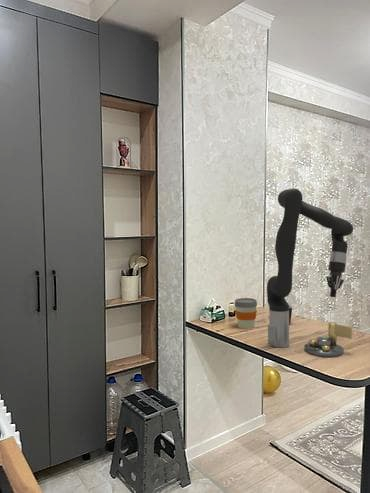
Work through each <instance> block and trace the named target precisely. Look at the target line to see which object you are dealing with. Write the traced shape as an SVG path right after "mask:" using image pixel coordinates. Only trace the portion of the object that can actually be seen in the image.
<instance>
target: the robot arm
mask: <svg viewBox="0 0 370 493" xmlns="http://www.w3.org/2000/svg"><path fill="white" fill-rule="evenodd" d="M277 196H278V197H277V202H278V204H279V206H281V208H283V209H284V211H283V212H284V213H283V218H282V221H281V223H280V225H279V228H278V230H277V233H276V236H275V245H274V251H275V252H274V253H275V256H276V257H275V258H276V260H277V261H276V262H277V275H272V276H271V277H269V279H268V280H267V284H266V297H267V304H268V308H269V315H268V316H269V324H268V325H267V344H268V345H270V346H271V347H273V348H286V347H289V346H290V325H289V306H290V304H289V303H288V301H287V300H286V297H288V296H289V295H290V293H291V291H292V288H293V267H294V258H295V250H296V243H297V231H298V226H299V219H300V215H301V216H304V217H305V218H308V219H309V220H311V221H313V222H314V223H317V224H318V225H320V226H321V227H323V228H325V229H331V230H330V232H331V243H332V244H331V251H330V252H331V253H330V256H329V263H328V269H327V270H328V271H330V272H329V275H328V276H326V277H325V278H326V281H327V282H326V283H327V285H328V288H329V289H330V293H329V296H330V298H336V297H337V290H340V289H341V287H342V285H343V284H344V282H345V279H342V278H343V273H345V272H346V265H347V253H348V242H347V241H345V238H344V237H347V236H350V235H351V234H352V233H353V232H354V226H353V224H352V223H351V222H350V221H348V220H346V219H343V218H342V217H338V216H336V215H333V214H332V213H330V212H328V211H327V210H325V209H323V208H320V207H318V206H315V205H312V204H310V203H308V202H305V201H304V200H303V193H302V192H301V191H300V190H299V189H298V188H293V187H292V188H288V189H287V188H286V189H284V190H282V191H280V193H279V194H278V195H277Z"/></svg>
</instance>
